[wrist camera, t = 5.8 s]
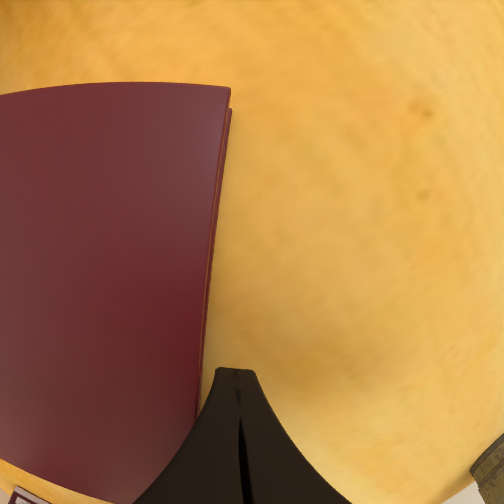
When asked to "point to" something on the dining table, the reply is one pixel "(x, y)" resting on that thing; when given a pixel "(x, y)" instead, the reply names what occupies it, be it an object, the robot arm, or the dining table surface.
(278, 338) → the dining table surface
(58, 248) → the book
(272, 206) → the dining table surface
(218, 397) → the robot arm
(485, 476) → the thermos
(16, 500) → the supplement box
